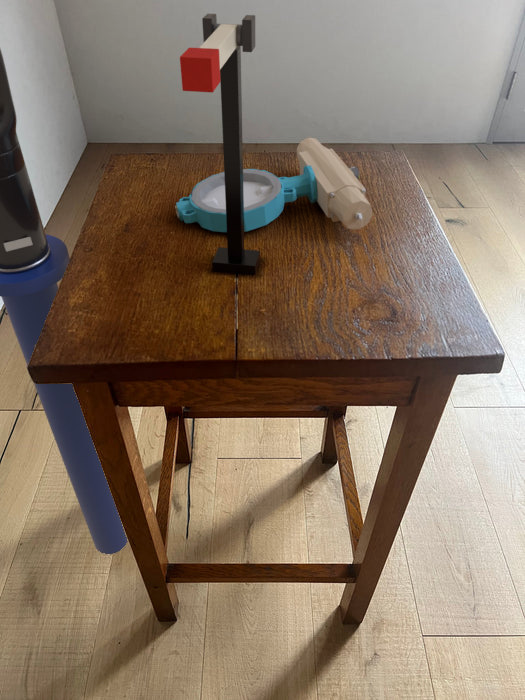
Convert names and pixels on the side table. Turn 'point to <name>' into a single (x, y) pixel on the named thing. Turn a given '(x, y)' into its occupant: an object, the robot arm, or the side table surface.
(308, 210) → the side table surface
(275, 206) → the butterfly valve
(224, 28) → the lever
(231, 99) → the lever post
